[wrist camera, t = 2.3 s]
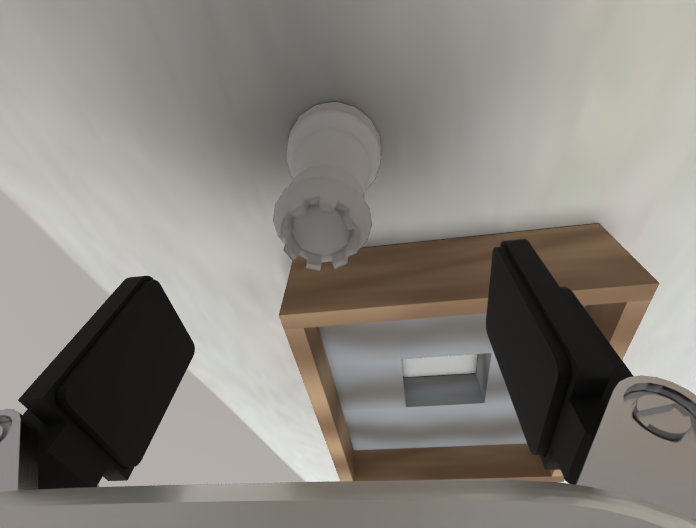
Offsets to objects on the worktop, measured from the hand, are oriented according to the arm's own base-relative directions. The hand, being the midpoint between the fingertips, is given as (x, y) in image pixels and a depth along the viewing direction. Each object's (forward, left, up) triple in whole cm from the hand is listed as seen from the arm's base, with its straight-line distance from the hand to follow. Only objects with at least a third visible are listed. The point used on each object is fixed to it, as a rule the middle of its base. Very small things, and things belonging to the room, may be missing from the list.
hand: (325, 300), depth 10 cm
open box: (+15, +5, -10) cm, 19 cm away
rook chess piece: (-1, 0, -10) cm, 10 cm away
